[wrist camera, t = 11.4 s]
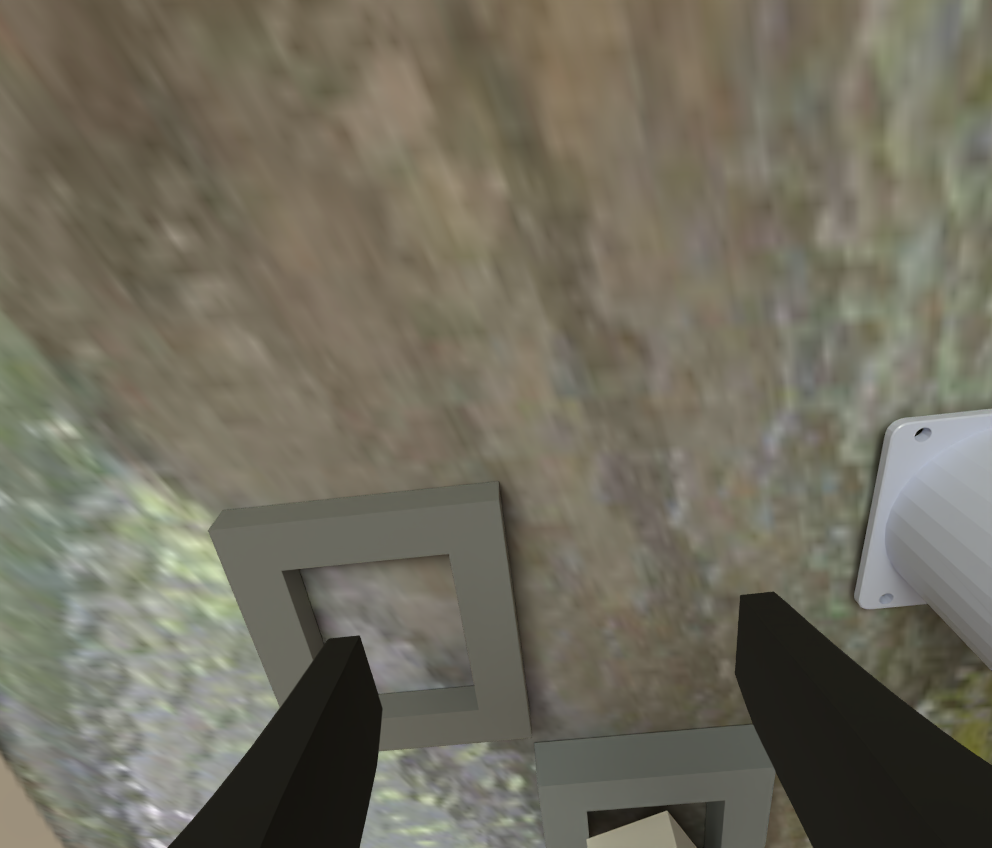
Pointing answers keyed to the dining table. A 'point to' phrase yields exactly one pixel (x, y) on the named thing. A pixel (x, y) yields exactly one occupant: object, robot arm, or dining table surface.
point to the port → (658, 781)
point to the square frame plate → (377, 537)
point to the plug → (644, 835)
